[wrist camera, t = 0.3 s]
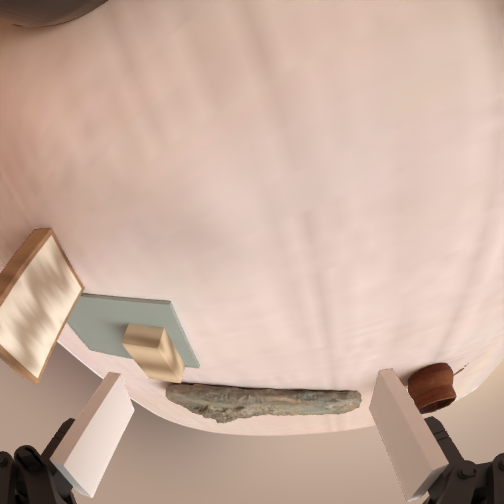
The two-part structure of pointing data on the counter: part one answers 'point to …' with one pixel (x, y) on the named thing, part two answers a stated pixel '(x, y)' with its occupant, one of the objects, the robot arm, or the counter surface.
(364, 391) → the counter surface
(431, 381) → the ceramic pot
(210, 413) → the elongated rock
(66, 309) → the slab
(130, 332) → the tan wooden block
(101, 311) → the mat
